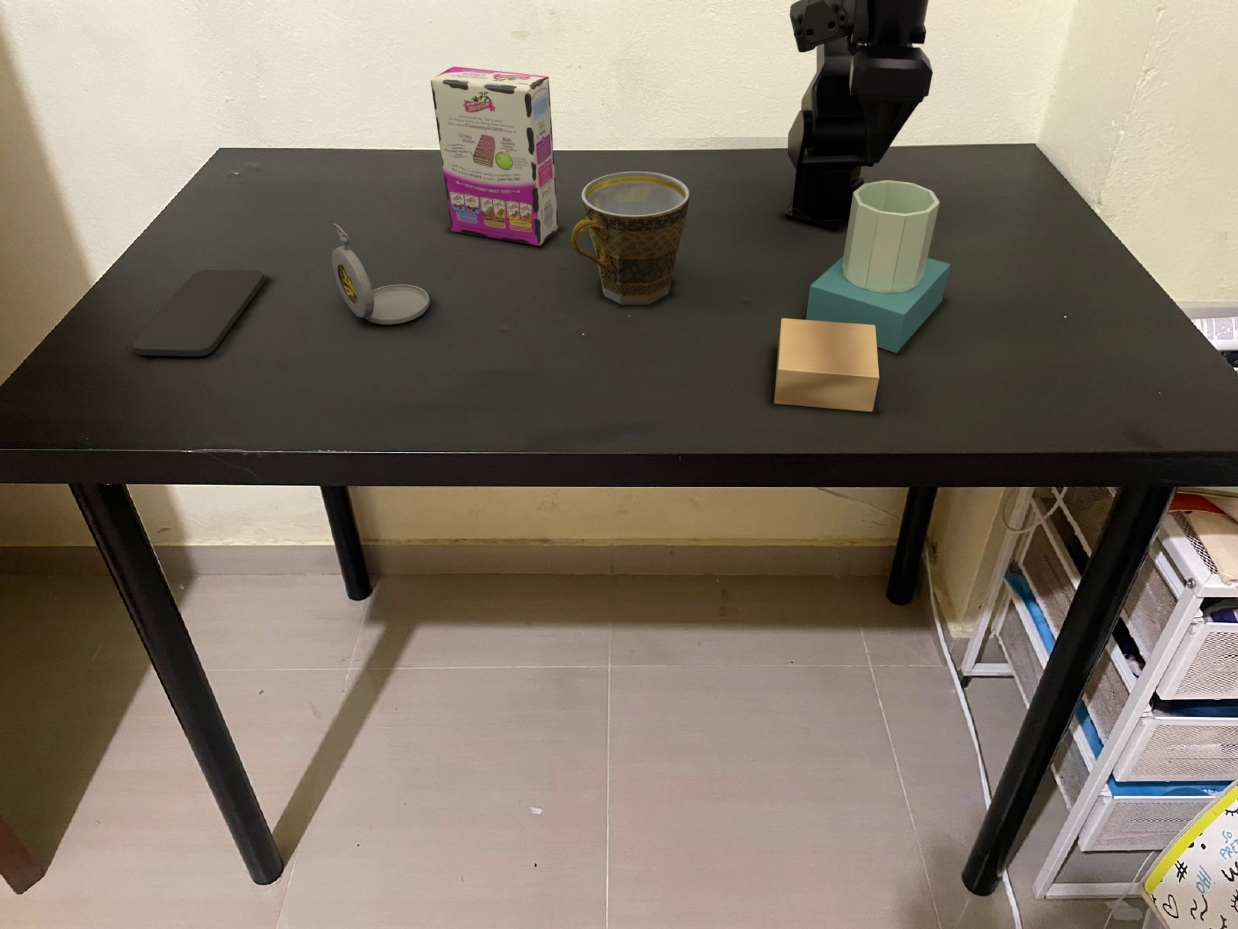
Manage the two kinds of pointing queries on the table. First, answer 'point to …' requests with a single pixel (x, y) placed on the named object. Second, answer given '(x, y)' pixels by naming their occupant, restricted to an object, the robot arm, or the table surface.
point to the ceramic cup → (634, 233)
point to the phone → (200, 313)
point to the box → (878, 303)
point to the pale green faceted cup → (889, 236)
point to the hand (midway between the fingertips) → (870, 143)
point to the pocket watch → (380, 303)
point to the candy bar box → (497, 153)
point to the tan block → (827, 365)
